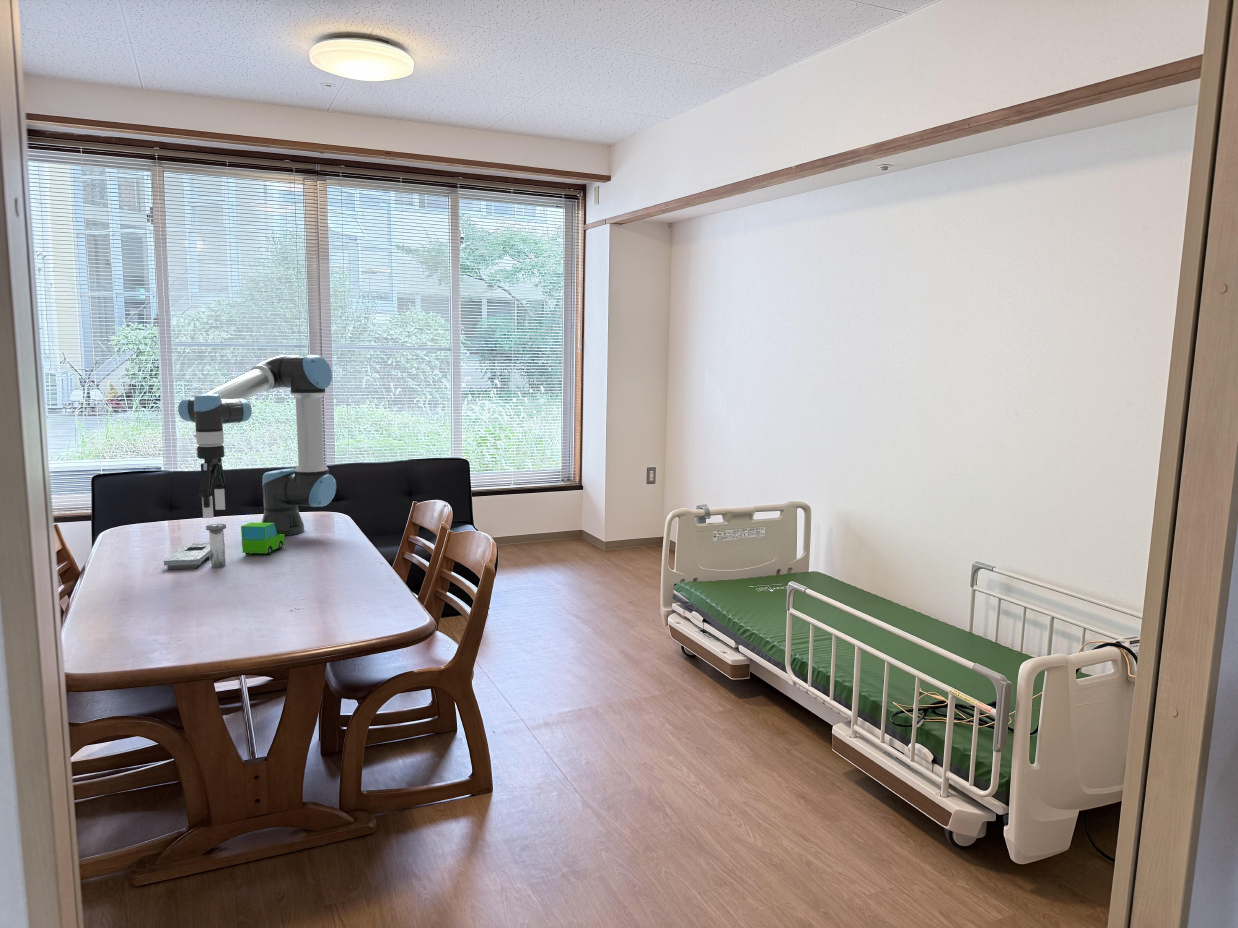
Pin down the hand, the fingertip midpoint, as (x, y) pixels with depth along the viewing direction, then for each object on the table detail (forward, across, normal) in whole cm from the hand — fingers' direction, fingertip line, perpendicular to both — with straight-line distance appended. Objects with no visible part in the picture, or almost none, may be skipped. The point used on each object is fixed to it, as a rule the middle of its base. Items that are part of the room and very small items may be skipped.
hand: (214, 513), depth 264 cm
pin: (+17, 0, 0) cm, 17 cm away
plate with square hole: (+17, -13, -10) cm, 23 cm away
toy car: (+17, -18, +10) cm, 27 cm away
